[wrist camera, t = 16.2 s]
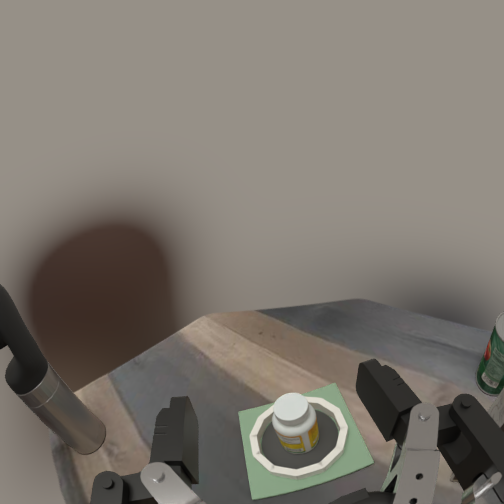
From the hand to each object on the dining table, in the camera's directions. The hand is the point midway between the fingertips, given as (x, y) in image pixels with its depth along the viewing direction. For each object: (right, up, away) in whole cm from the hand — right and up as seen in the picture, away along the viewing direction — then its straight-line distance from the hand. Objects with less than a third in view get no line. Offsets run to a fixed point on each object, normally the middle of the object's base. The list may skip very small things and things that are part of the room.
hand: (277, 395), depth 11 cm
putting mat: (+6, -20, +20) cm, 29 cm away
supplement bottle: (+6, -19, +19) cm, 28 cm away
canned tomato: (+37, -14, +14) cm, 42 cm away
